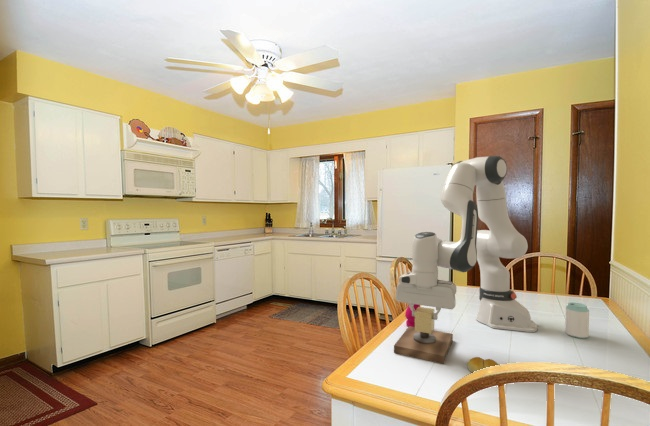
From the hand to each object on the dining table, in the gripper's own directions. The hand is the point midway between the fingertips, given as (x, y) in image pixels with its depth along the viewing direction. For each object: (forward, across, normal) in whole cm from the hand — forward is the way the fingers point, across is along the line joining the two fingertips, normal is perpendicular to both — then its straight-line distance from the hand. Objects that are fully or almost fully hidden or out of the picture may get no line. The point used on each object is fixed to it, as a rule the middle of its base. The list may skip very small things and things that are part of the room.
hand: (424, 317), depth 114 cm
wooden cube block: (+4, 0, 0) cm, 4 cm away
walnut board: (+10, 0, 0) cm, 10 cm away
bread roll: (+11, -20, +9) cm, 24 cm away
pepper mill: (+10, +8, -18) cm, 22 cm away
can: (+11, -49, -38) cm, 63 cm away
